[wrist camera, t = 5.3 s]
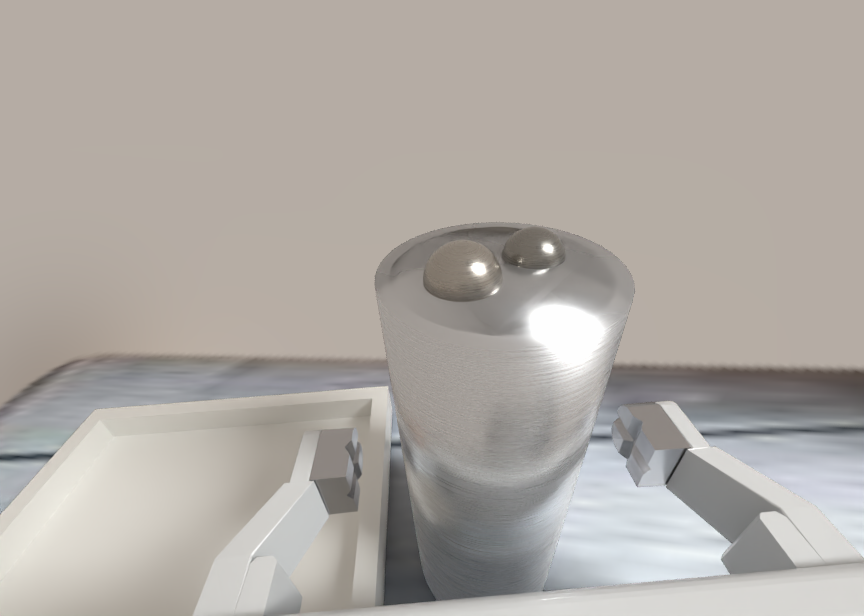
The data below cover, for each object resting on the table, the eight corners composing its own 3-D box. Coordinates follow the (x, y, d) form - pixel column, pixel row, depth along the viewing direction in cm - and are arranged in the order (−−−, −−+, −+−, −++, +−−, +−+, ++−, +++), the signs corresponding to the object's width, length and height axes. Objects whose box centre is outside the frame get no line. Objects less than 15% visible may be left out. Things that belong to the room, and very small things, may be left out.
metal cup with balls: (527, 481, 17) (577, 186, 9) (567, 621, 13) (722, 289, 5) (418, 490, 17) (378, 200, 9) (422, 634, 13) (352, 318, 5)
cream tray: (392, 409, 21) (388, 386, 20) (373, 832, 10) (361, 832, 8) (115, 432, 21) (95, 409, 20) (-249, 893, 9) (-347, 901, 8)
